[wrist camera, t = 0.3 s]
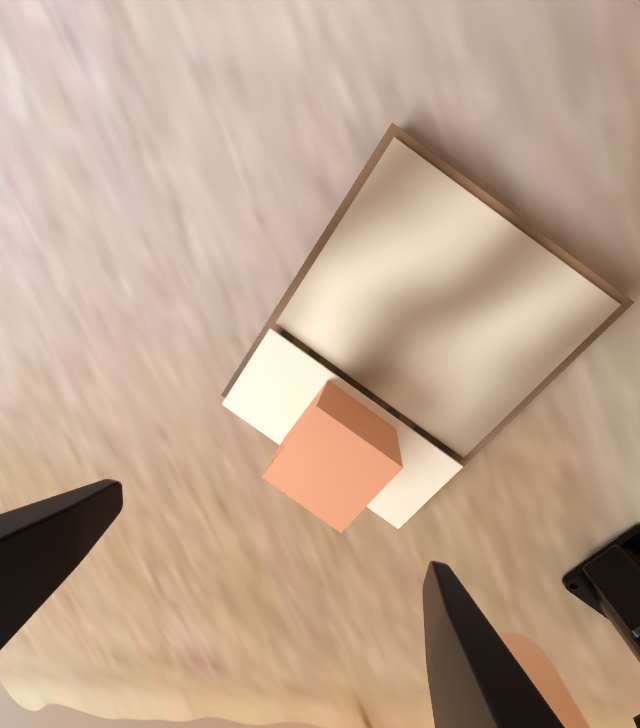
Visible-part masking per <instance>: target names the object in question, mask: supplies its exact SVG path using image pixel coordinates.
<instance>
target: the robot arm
mask: <svg viewBox="0 0 640 728" xmlns="http://www.w3.org/2000/svg"><path fill="white" fill-rule="evenodd" d="M122 507H123V493H122V484H121V482H119V481H116V480H112V479H104V480H101V481H98V482H95V483H92V484H89V485H86V486H83V487H80V488H77V489H74V490H71V491H68V492H65V493H62V494H59V495H56V496H53V497H50V498H47V499H44V500H41V501H38V502H35V503H32V504H29V505H26V506H23V507H20V508H17V509H14V510H11V511H8V512H5V513H2V514H0V650H1V649H2V648H3V647H4V646H5V645H6V644H7V642H8V641H9V640H10V639H11V638H12V637H13V636H14V635H15V634H16V633H17V632H18V630H19V629H20V628H21V627H22V626H23V625H24V624H25V623H26V622H27V621H28V620H29V618H30V617H31V616H32V615H33V614H34V613H35V612H36V611H37V610H38V609H39V608H40V607H41V605H42V604H43V603H44V602H45V601H46V600H47V599H48V598H49V597H50V596H51V595H52V593H53V592H54V591H55V590H56V589H57V588H58V587H59V586H60V585H61V584H62V583H63V581H64V580H65V579H66V578H67V577H68V576H69V575H70V574H71V573H72V572H73V570H74V569H75V568H76V567H77V566H78V565H79V564H80V562H81V561H82V560H83V559H84V558H85V556H86V555H87V554H88V553H89V551H90V550H91V549H92V548H93V546H94V545H95V544H96V543H97V541H98V540H99V539H100V537H101V536H102V535H103V534H104V532H105V531H106V530H107V529H108V527H109V526H110V525H111V523H112V522H113V521H114V520H115V518H116V517H117V516H118V515H119V513H120V511H121V509H122ZM562 583H563V585H564V586H565V588H566V589H567V590H568V591H569V592H571V593H572V594H574V595H575V596H576V597H578V598H579V599H581V600H582V601H583V602H585V603H586V604H588V605H589V606H590V607H592V608H593V609H595V610H596V611H597V612H599V613H600V614H602V615H603V616H604V617H606V618H607V619H609V620H610V622H611V623H612V624H613V626H614V627H615V629H616V630H617V631H618V633H619V634H620V636H621V637H622V638H623V640H624V641H625V643H626V644H627V645H628V647H629V648H630V650H631V651H632V652H633V654H634V655H635V657H636V658H637V659H638V661H639V662H640V525H639V526H636V527H634V528H632V529H631V530H629V531H628V532H627V533H625V534H624V535H622V536H621V537H620V538H618V539H617V540H615V541H614V542H612V543H611V544H610V545H608V546H607V547H605V548H604V549H603V550H601V551H600V552H598V553H597V554H596V555H594V556H593V557H591V558H590V559H588V560H587V561H586V562H584V563H583V564H581V565H580V566H579V567H577V568H576V569H574V570H573V571H572V572H570V573H569V574H567V575H566V576H564V577H563V579H562ZM423 611H424V629H425V648H426V664H427V674H428V682H429V689H430V696H431V703H432V709H433V716H434V723H435V728H565V727H564V726H563V725H562V723H561V722H560V720H559V719H558V718H557V716H556V715H555V714H554V712H553V711H552V709H551V708H550V706H549V705H548V704H547V702H546V701H545V700H544V698H543V697H542V695H541V694H540V692H539V691H538V690H537V688H536V687H535V686H534V684H533V683H532V681H531V680H530V679H529V677H528V676H527V674H526V673H525V672H524V670H523V669H522V667H521V666H520V665H519V663H518V662H517V660H516V659H515V658H514V656H513V655H512V653H511V652H510V651H509V649H508V648H507V647H506V645H505V644H504V642H503V641H502V640H501V638H500V637H499V635H498V634H497V632H496V631H495V630H494V628H493V627H492V625H491V624H490V623H489V621H488V620H487V618H486V617H485V616H484V614H483V613H482V611H481V610H480V609H479V607H478V606H477V605H476V603H475V602H474V600H473V599H472V598H471V596H470V595H469V593H468V592H467V591H466V589H465V588H464V586H463V585H462V584H461V582H460V581H459V579H458V578H457V577H456V575H455V574H454V572H453V571H452V570H451V568H450V567H449V566H448V565H447V564H445V563H441V562H437V561H431V562H430V563H429V566H428V570H427V573H426V577H425V580H424V584H423ZM633 719H634V721H635V724H636V726H637V728H640V714H639V715H637V716H635V717H634V718H633Z"/></svg>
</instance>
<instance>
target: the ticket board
mask: <svg viewBox="0 0 640 728" xmlns="http://www.w3.org/2000/svg"><path fill="white" fill-rule="evenodd" d="M633 303H634V302H633V301H632V300H631V299H629V298H628V297H627V296H625V295H624V294H623V293H621V292H620V291H619V290H617V289H616V288H615V287H613V286H612V285H611V284H609V283H608V282H606V281H605V280H604V279H602V278H601V277H600V276H598V275H597V274H596V273H594V272H593V271H592V270H590V269H589V268H588V267H586V266H585V265H584V264H582V263H581V262H580V261H578V260H577V259H575V258H574V257H573V256H571V255H570V254H569V253H567V252H566V251H565V250H563V249H562V248H561V247H559V246H558V245H557V244H555V243H554V242H553V241H551V240H550V239H548V238H547V237H546V236H544V235H543V234H542V233H540V232H539V231H538V230H536V229H535V228H534V227H532V226H531V225H530V224H528V223H527V222H526V221H524V220H523V219H522V218H520V217H519V216H517V215H516V214H515V213H513V212H512V211H511V210H509V209H508V208H507V207H505V206H504V205H503V204H501V203H500V202H499V201H497V200H496V199H495V198H493V197H492V196H490V195H489V194H488V193H486V192H485V191H484V190H482V189H481V188H480V187H478V186H477V185H476V184H474V183H473V182H472V181H470V180H469V179H468V178H466V177H465V176H464V175H462V174H461V173H459V172H458V171H457V170H455V169H454V168H453V167H451V166H450V165H449V164H447V163H446V162H445V161H443V160H442V159H441V158H439V157H438V156H437V155H435V154H434V153H432V152H431V151H430V150H428V149H427V148H426V147H424V146H423V145H422V144H420V143H419V142H418V141H416V140H415V139H414V138H412V137H411V136H410V135H408V134H407V133H406V132H404V131H403V130H401V129H400V128H399V127H397V126H396V125H395V124H393V123H392V124H391V125H390V127H389V128H388V130H387V132H386V133H385V135H384V136H383V138H382V140H381V141H380V143H379V144H378V146H377V148H376V149H375V151H374V152H373V154H372V156H371V157H370V159H369V160H368V162H367V164H366V165H365V167H364V168H363V170H362V172H361V173H360V175H359V176H358V178H357V179H356V181H355V183H354V184H353V186H352V187H351V189H350V191H349V192H348V194H347V195H346V197H345V199H344V200H343V202H342V203H341V205H340V207H339V208H338V210H337V211H336V213H335V215H334V216H333V218H332V219H331V221H330V223H329V224H328V226H327V227H326V229H325V231H324V232H323V234H322V235H321V237H320V238H319V240H318V242H317V243H316V245H315V246H314V248H313V250H312V251H311V253H310V254H309V256H308V258H307V259H306V261H305V262H304V264H303V266H302V267H301V269H300V270H299V272H298V274H297V275H296V277H295V278H294V280H293V282H292V283H291V285H290V286H289V288H288V290H287V291H286V293H285V294H284V296H283V297H282V299H281V301H280V302H279V304H278V305H277V307H276V309H275V310H274V312H273V313H272V315H271V317H270V318H269V320H268V321H267V323H266V325H265V326H264V328H263V329H262V331H261V333H260V334H259V336H258V337H257V339H256V341H255V342H254V344H253V345H252V347H251V349H250V350H249V352H248V353H247V355H246V357H245V358H244V360H243V361H242V363H241V364H240V366H239V368H238V369H237V371H236V372H235V374H234V376H233V377H232V379H231V380H230V382H229V384H228V385H227V387H226V388H225V390H224V392H223V393H222V396H223V397H225V398H226V397H227V395H228V394H229V392H230V390H231V389H232V387H233V386H234V384H235V383H236V381H237V379H238V378H239V376H240V375H241V373H242V372H243V370H244V368H245V367H246V365H247V364H248V362H249V360H250V359H251V357H252V356H253V354H254V353H255V351H256V349H257V348H258V346H259V345H260V343H261V342H262V340H263V338H264V337H265V335H266V334H267V332H268V331H269V329H270V328H272V329H273V330H274V331H276V332H277V333H279V334H280V335H281V336H283V337H284V338H286V339H287V340H288V341H290V342H291V343H293V344H294V345H295V346H297V347H298V348H299V349H301V350H302V351H304V352H305V353H306V354H308V355H309V356H311V357H312V358H313V359H315V360H316V361H318V362H319V363H320V364H322V365H323V366H325V367H326V368H327V369H329V370H330V371H332V372H333V373H334V374H336V375H337V376H339V377H340V378H341V379H343V380H344V381H345V382H347V383H348V384H350V385H351V386H352V387H354V388H355V389H357V390H358V391H359V392H361V393H362V394H364V395H365V396H366V397H368V398H369V399H371V400H372V401H373V402H375V403H376V404H378V405H379V406H380V407H382V408H383V409H385V410H386V411H387V412H389V413H390V414H392V415H393V416H394V417H396V418H397V419H398V420H400V421H401V422H403V423H404V424H405V425H407V426H408V427H410V428H411V429H412V430H414V431H415V432H417V433H418V434H419V435H421V436H422V437H424V438H425V439H426V440H428V441H429V442H431V443H432V444H433V445H435V446H436V447H438V448H439V449H440V450H442V451H443V452H444V453H446V454H447V455H449V456H450V457H451V458H453V459H454V460H456V461H457V462H458V463H460V464H461V465H462V466H464V465H465V464H466V463H467V462H468V461H469V460H470V459H472V458H473V457H474V456H475V455H476V454H477V453H478V452H479V451H480V450H481V449H482V448H483V447H484V446H485V445H486V444H487V443H488V442H489V441H490V440H491V439H492V438H493V437H494V436H495V435H497V434H498V433H499V432H500V431H501V430H502V429H503V428H504V427H505V426H506V425H507V424H508V423H509V422H510V421H511V420H512V419H513V418H514V417H515V416H516V415H517V414H518V413H519V412H520V411H521V410H523V409H524V408H525V407H526V406H527V405H528V404H529V403H530V402H531V401H532V400H533V399H534V398H535V397H536V396H537V395H538V394H539V393H540V392H541V391H542V390H543V389H544V388H545V387H546V386H548V385H549V384H550V383H551V382H552V381H553V380H554V379H555V378H556V377H557V376H558V375H559V374H560V373H561V372H562V371H563V370H564V369H565V368H566V367H567V366H568V365H569V364H570V363H571V362H573V361H574V360H575V359H576V358H577V357H578V356H579V355H580V354H581V353H582V352H583V351H584V350H585V349H586V348H587V347H588V346H589V345H590V344H591V343H592V342H593V341H594V340H595V339H596V338H598V337H599V336H600V335H601V334H602V333H603V332H604V331H605V330H606V329H607V328H608V327H609V326H610V325H611V324H612V323H613V322H614V321H615V320H616V319H617V318H618V317H619V316H620V315H621V314H623V313H624V312H625V311H626V310H627V309H628V308H629V307H630V306H631V305H632V304H633Z"/></svg>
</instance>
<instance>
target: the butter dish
mask: <svg viewBox="0 0 640 728" xmlns="http://www.w3.org/2000/svg"><path fill="white" fill-rule="evenodd" d="M222 405H224V406H225V407H227V408H228V409H229V410H231V411H232V412H234V413H235V414H237V415H238V416H239V417H241V418H242V419H244V420H245V421H246V422H248V423H249V424H251V425H252V426H253V427H255V428H256V429H258V430H259V431H261V432H262V433H263V434H265V435H266V436H268V437H269V438H270V439H272V440H273V441H275V442H276V443H277V444H279V445H280V446H279V448H278V449H277V451H276V453H275V455H274V456H273V458H272V460H271V462H270V464H269V465H268V467H267V469H266V471H265V473H264V474H263V476H262V478H264V479H265V480H267V481H268V482H269V483H271V484H272V485H274V486H275V487H276V488H278V489H279V490H281V491H282V492H284V493H285V494H286V495H288V496H289V497H291V498H292V499H293V500H295V501H296V502H298V503H299V504H301V505H302V506H303V507H305V508H306V509H308V510H309V511H311V512H312V513H313V514H315V515H316V516H318V517H319V518H320V519H322V520H323V521H325V522H326V523H328V524H329V525H330V526H332V527H333V528H335V529H336V530H337V531H339V532H340V533H341V532H342V531H343V530H344V529H345V528H346V527H347V526H348V525H349V524H350V523H351V522H352V521H353V520H354V519H355V518H356V517H357V516H358V515H359V514H360V513H361V511H362V510H363V509H364V508H365V507H368V508H369V509H371V510H372V511H373V512H375V513H376V514H378V515H379V516H381V517H382V518H383V519H385V520H386V521H388V522H389V523H390V524H392V525H393V526H395V527H396V528H397V529H399V528H400V527H401V526H402V525H403V524H404V523H405V522H406V521H407V520H408V519H409V518H410V517H411V516H412V515H413V514H414V513H415V512H416V511H418V510H419V509H420V508H421V507H422V506H423V505H424V504H425V503H426V502H427V501H428V500H429V499H430V498H431V497H432V496H433V495H434V494H435V493H436V492H437V491H438V490H439V489H440V488H441V487H443V486H444V485H445V484H446V483H447V482H448V481H449V480H450V479H451V478H452V477H453V476H454V475H455V474H456V473H457V472H458V471H459V470H460V469H461V468H462V467H463V466H462V465H461V464H460V463H458V462H457V461H456V460H454V459H453V458H451V457H450V456H449V455H447V454H446V453H444V452H443V451H442V450H440V449H439V448H438V447H436V446H435V445H433V444H432V443H431V442H429V441H428V440H426V439H425V438H424V437H422V436H421V435H419V434H418V433H417V432H415V431H414V430H412V429H411V428H410V427H408V426H407V425H405V424H404V423H403V422H401V421H400V420H398V419H397V418H396V417H394V416H393V415H392V414H390V413H389V412H387V411H386V410H385V409H383V408H382V407H380V406H379V405H378V404H376V403H375V402H373V401H372V400H371V399H369V398H368V397H366V396H365V395H364V394H362V393H361V392H359V391H358V390H357V389H355V388H354V387H352V386H351V385H350V384H348V383H347V382H345V381H344V380H343V379H341V378H340V377H339V376H337V375H336V374H334V373H333V372H332V371H330V370H329V369H327V368H326V367H325V366H323V365H322V364H320V363H319V362H318V361H316V360H315V359H313V358H312V357H311V356H309V355H308V354H306V353H305V352H304V351H302V350H301V349H299V348H298V347H297V346H295V345H294V344H293V343H291V342H290V341H288V340H287V339H286V338H284V337H283V336H281V335H280V334H279V333H277V332H276V331H274V330H273V329H272V328H270V329H269V331H268V332H267V334H266V335H265V337H264V338H263V340H262V342H261V343H260V345H259V346H258V348H257V349H256V351H255V353H254V354H253V356H252V357H251V359H250V360H249V362H248V364H247V365H246V367H245V368H244V370H243V372H242V373H241V375H240V376H239V378H238V379H237V381H236V383H235V384H234V386H233V387H232V389H231V390H230V392H229V394H228V395H227V397H226V398H225V400H224V401H223V403H222Z"/></svg>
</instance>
